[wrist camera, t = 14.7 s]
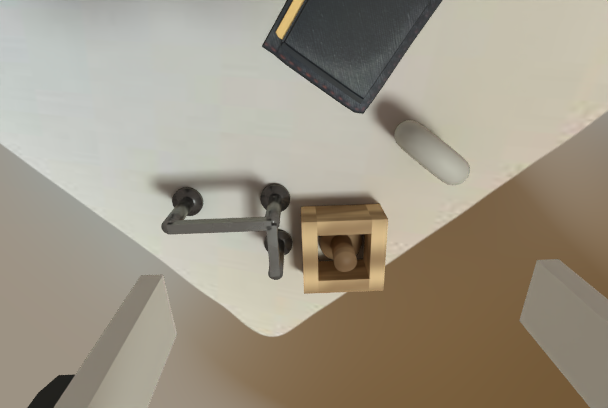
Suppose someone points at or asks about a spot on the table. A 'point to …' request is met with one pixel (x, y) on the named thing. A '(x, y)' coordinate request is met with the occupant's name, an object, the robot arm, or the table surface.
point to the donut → (432, 152)
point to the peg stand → (342, 250)
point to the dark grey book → (347, 43)
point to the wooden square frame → (344, 223)
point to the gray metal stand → (236, 222)
